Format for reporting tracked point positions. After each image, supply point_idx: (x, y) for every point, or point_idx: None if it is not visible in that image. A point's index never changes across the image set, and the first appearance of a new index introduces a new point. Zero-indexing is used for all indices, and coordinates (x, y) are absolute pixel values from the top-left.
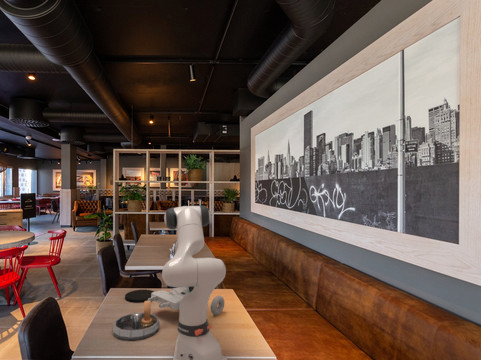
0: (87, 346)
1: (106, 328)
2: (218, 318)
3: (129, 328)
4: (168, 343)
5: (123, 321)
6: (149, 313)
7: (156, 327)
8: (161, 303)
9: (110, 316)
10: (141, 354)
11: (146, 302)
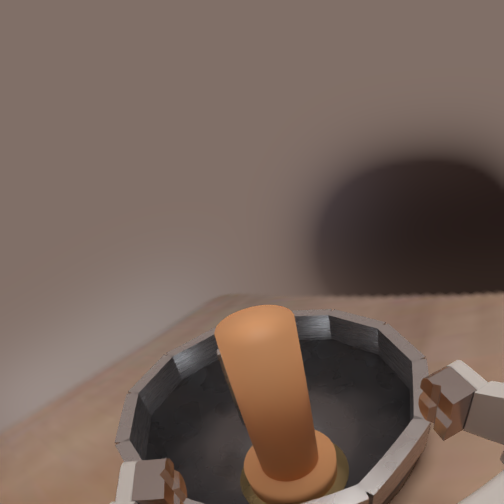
0: (250, 302)
1: None
2: None
3: None
4: (30, 477)
5: (384, 360)
6: (249, 433)
7: None
8: (156, 480)
9: (500, 322)
10: (73, 390)
11: (238, 316)
